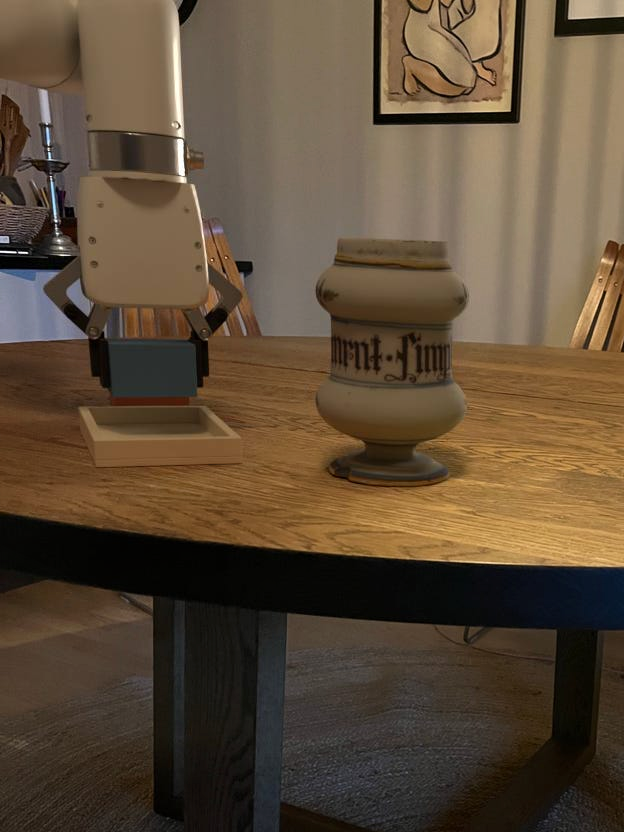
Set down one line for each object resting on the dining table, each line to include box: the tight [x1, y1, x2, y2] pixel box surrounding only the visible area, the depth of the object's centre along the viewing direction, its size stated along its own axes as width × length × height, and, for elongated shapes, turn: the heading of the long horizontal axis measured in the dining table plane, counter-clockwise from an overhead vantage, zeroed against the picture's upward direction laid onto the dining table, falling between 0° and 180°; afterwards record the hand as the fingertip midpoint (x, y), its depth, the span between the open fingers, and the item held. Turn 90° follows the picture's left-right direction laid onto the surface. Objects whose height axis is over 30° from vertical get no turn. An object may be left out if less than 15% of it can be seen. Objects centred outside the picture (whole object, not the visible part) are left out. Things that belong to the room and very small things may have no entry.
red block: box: [109, 393, 191, 406], centre depth 101 cm, size 7×5×4 cm, turn 114°
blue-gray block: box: [105, 337, 198, 398], centre depth 89 cm, size 7×5×4 cm, turn 114°
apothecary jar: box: [315, 237, 470, 488], centre depth 81 cm, size 12×12×18 cm
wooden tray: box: [77, 405, 243, 468], centre depth 89 cm, size 17×11×2 cm
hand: (151, 384), depth 90 cm, fingers closed on blue-gray block, 7 cm apart
